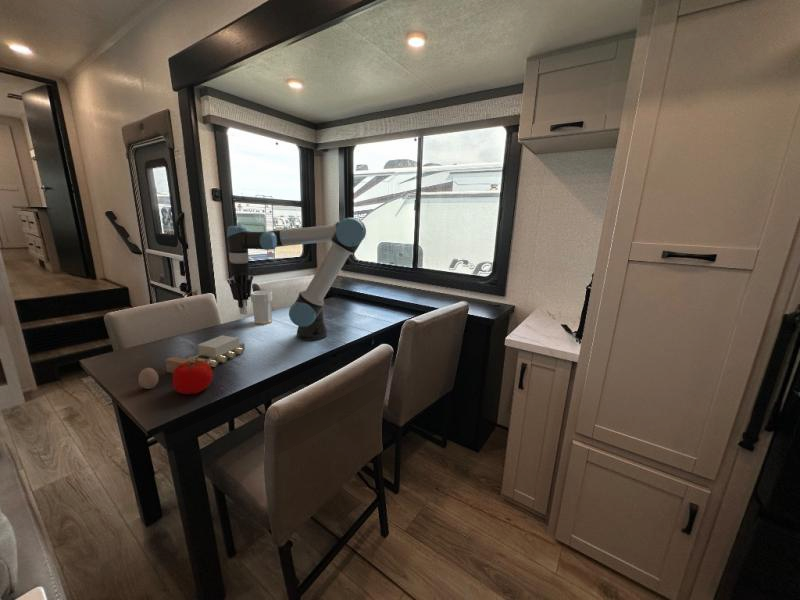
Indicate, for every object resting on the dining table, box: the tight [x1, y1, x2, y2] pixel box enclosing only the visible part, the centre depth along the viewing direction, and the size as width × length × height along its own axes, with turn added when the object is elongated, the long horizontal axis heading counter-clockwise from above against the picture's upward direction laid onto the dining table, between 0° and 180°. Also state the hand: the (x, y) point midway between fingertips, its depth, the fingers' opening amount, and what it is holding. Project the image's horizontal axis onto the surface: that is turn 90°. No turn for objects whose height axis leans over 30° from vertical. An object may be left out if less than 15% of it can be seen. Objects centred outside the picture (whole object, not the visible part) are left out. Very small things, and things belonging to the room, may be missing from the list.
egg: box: [137, 367, 160, 390], centre depth 106 cm, size 5×5×7 cm
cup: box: [250, 290, 273, 326], centre depth 177 cm, size 11×11×17 cm
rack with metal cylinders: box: [165, 343, 246, 374], centre depth 129 cm, size 14×27×5 cm, turn 163°
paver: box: [197, 335, 240, 357], centre depth 132 cm, size 9×12×4 cm
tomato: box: [172, 360, 214, 395], centre depth 105 cm, size 12×12×10 cm
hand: (243, 313), depth 143 cm, fingers closed
